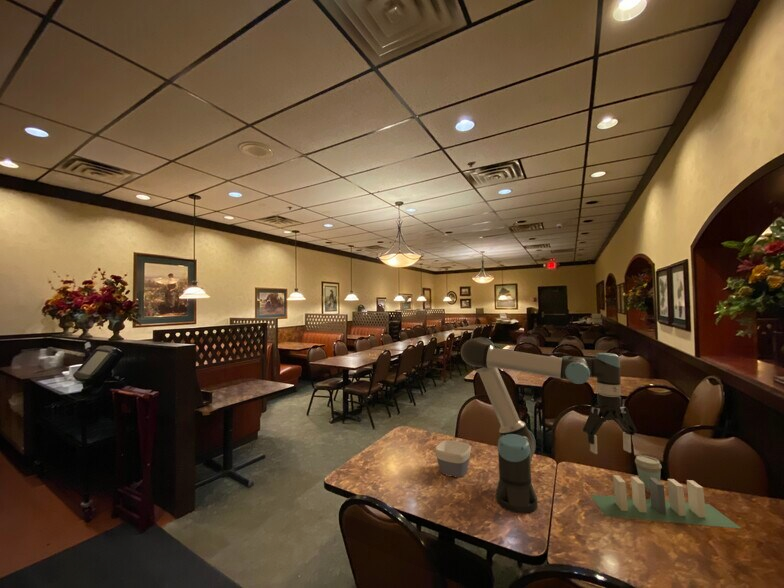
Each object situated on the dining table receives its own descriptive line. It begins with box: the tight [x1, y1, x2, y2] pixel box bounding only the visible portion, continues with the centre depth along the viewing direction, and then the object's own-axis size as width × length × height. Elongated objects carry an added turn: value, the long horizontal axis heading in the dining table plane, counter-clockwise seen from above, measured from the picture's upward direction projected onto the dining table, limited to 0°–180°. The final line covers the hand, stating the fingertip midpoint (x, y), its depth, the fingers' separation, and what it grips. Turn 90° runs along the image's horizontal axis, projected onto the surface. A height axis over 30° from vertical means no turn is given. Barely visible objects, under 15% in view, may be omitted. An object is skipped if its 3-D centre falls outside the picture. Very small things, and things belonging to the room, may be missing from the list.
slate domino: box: [649, 478, 666, 514], centre depth 116 cm, size 2×5×10 cm, turn 168°
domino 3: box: [667, 478, 686, 516], centre depth 114 cm, size 2×5×10 cm, turn 168°
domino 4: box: [686, 479, 706, 518], centre depth 113 cm, size 2×5×10 cm, turn 168°
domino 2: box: [630, 476, 647, 513], centre depth 117 cm, size 2×5×10 cm, turn 168°
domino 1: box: [612, 474, 628, 511], centre depth 118 cm, size 2×5×10 cm, turn 168°
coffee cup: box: [634, 455, 663, 493], centre depth 129 cm, size 8×8×12 cm
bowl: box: [434, 439, 472, 478], centre depth 149 cm, size 15×15×11 cm
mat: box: [589, 494, 742, 529], centre depth 115 cm, size 40×14×1 cm, turn 78°
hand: (610, 451), depth 120 cm, fingers open, 13 cm apart
